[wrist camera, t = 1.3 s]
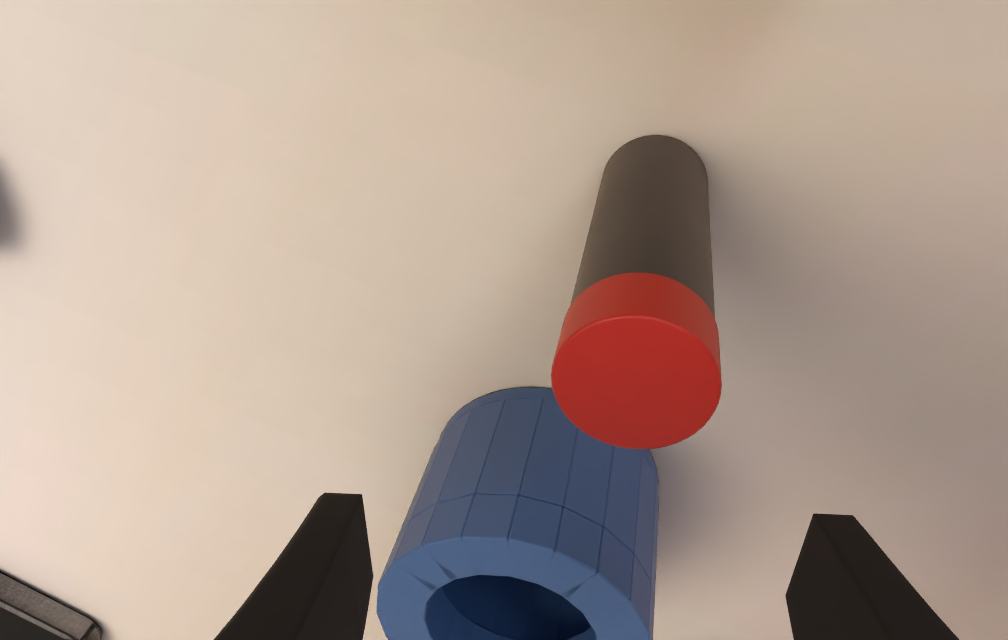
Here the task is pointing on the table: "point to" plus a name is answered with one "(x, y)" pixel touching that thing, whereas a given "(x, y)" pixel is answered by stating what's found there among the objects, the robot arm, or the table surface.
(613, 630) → the blue cylindrical cup
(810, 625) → the robot arm
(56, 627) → the phone
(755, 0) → the table surface
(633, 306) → the marker
